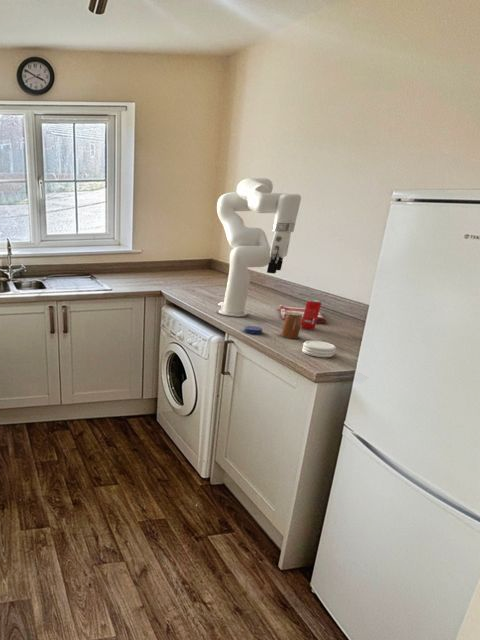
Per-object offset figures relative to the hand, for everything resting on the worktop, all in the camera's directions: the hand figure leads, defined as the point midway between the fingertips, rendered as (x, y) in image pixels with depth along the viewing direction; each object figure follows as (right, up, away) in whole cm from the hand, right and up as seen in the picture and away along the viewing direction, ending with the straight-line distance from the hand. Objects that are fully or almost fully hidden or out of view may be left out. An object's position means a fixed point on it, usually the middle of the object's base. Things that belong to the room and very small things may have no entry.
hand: (273, 271), depth 186 cm
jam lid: (-6, -23, +4) cm, 24 cm away
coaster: (+4, -35, -20) cm, 41 cm away
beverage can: (+20, -22, +10) cm, 32 cm away
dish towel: (+29, -14, +29) cm, 44 cm away
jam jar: (+6, -27, -1) cm, 28 cm away
